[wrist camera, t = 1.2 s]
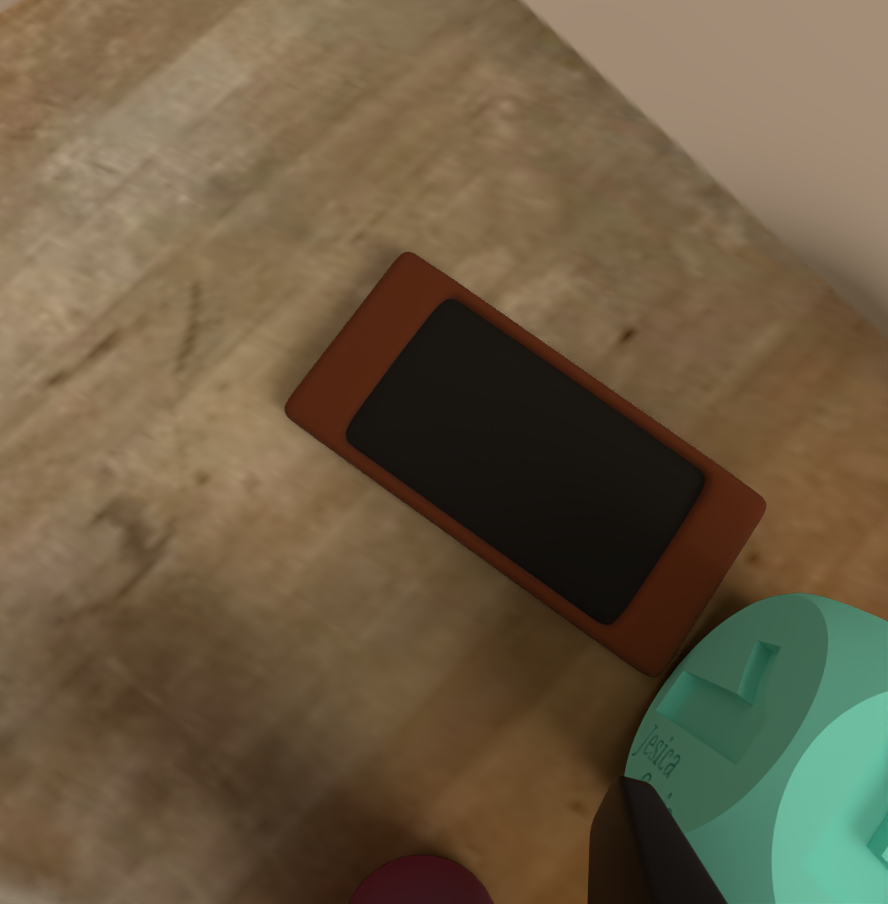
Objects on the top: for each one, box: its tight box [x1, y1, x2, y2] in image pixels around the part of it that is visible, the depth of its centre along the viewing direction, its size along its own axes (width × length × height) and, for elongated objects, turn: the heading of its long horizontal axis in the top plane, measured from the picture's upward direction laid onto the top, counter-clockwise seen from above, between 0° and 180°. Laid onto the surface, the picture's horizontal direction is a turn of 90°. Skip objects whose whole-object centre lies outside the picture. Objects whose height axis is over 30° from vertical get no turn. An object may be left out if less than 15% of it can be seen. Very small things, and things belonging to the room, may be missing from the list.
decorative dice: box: [624, 593, 888, 904], centre depth 19 cm, size 8×8×8 cm
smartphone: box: [285, 252, 766, 677], centre depth 24 cm, size 7×1×15 cm
